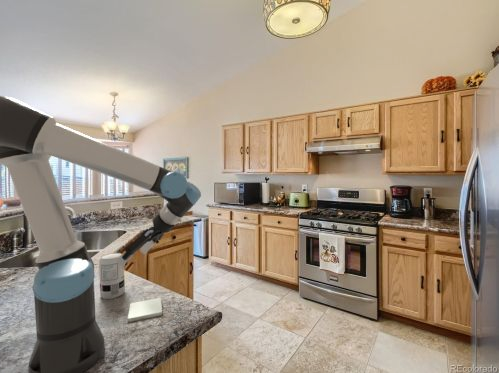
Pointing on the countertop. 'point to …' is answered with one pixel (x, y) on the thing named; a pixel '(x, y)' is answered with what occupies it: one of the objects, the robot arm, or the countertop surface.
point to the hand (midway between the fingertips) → (131, 257)
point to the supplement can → (111, 276)
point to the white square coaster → (145, 309)
